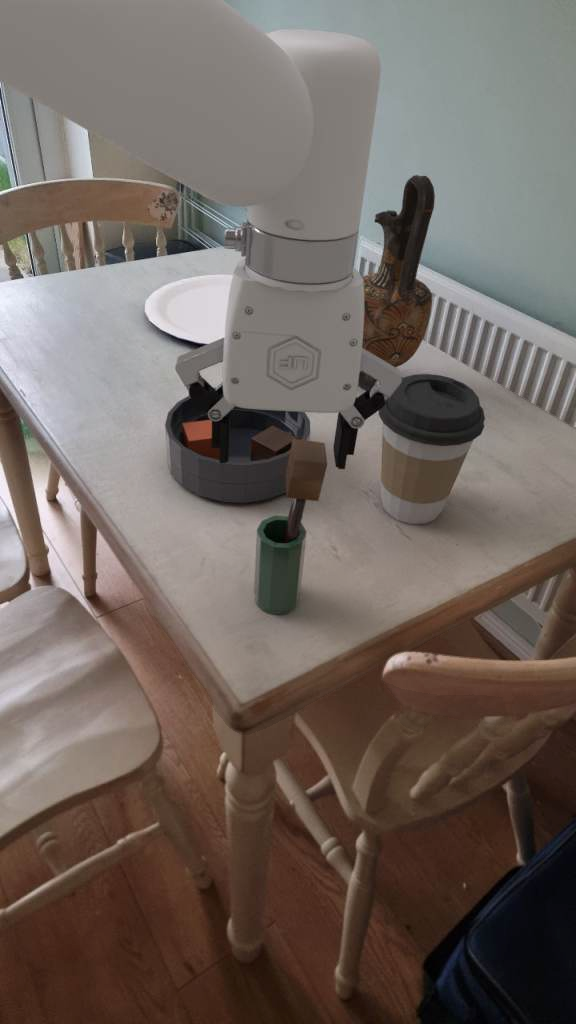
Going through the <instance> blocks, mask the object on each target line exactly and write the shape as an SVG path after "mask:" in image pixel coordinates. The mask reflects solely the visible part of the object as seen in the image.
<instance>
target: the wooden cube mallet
mask: <svg viewBox="0 0 576 1024" xmlns="http://www.w3.org/2000/svg"><path fill="white" fill-rule="evenodd" d="M327 459H328V458H327V453H326V444H325V442H323V441H322V442H321V441H313V440H310V441H306V440H298V439H293V440H292V445H291V450H290V455H289V460H288V465H287V470H286V475H285V478H286V492H285V495H286V496H285V497H286V498H287V499H291V503H290V506H289V507H290V508H289V512H288V515H287V516H288V521H287V526H286V530H285V535H284V540H283V543H289V542H291V541H294V540H296V539H297V537H298V533H299V528H300V524H301V523H302V519H303V515H304V511H305V507H306V502H307V501H312V502H313V501H314V502H318V501H319V500H320V495H321V492H322V487H323V483H324V480H325V476H326V472H327V467H328V460H327Z"/></svg>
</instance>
